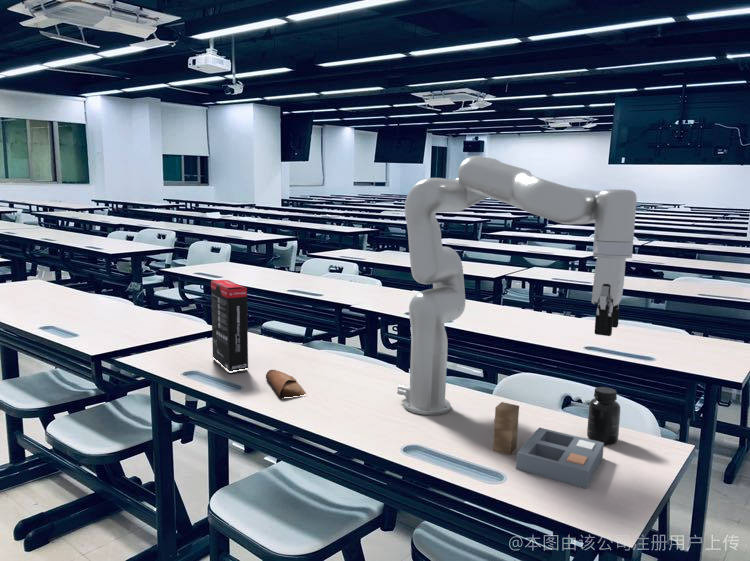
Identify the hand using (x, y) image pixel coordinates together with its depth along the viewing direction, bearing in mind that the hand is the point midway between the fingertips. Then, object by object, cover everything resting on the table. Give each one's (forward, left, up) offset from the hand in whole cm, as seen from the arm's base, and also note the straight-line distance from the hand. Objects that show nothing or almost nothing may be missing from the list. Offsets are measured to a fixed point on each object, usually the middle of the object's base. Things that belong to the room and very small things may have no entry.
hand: (606, 330), depth 117 cm
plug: (-18, -8, -28) cm, 34 cm away
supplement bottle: (-1, +11, -28) cm, 30 cm away
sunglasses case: (-83, -6, -29) cm, 88 cm away
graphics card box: (-112, -1, -28) cm, 115 cm away
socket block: (-6, -8, -28) cm, 30 cm away
